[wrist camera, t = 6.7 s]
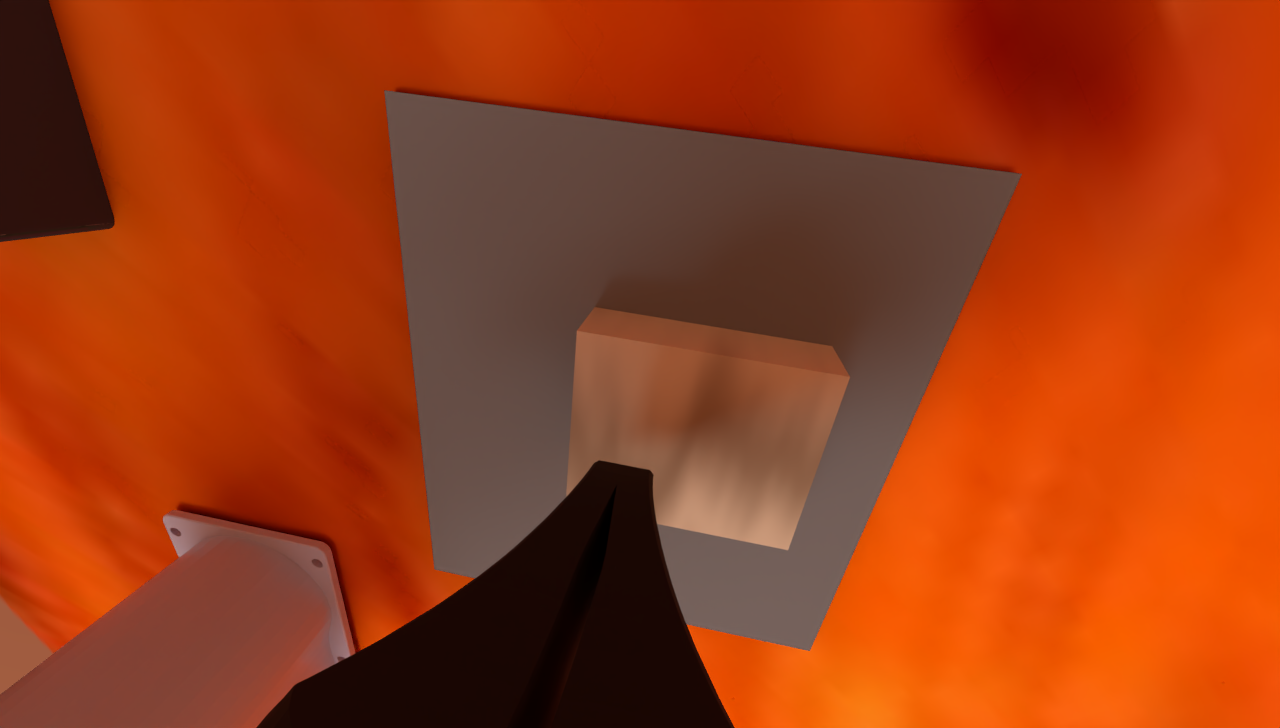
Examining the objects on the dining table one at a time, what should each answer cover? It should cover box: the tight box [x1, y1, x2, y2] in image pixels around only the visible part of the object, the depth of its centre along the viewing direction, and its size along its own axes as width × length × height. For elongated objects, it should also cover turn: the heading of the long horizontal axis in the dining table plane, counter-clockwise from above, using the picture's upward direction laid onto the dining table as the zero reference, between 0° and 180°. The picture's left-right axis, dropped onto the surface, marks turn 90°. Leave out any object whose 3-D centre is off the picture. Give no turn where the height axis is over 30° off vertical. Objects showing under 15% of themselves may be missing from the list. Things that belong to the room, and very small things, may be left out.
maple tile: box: [566, 307, 850, 550], centre depth 14 cm, size 6×2×7 cm
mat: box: [384, 90, 1022, 651], centre depth 16 cm, size 18×16×1 cm
